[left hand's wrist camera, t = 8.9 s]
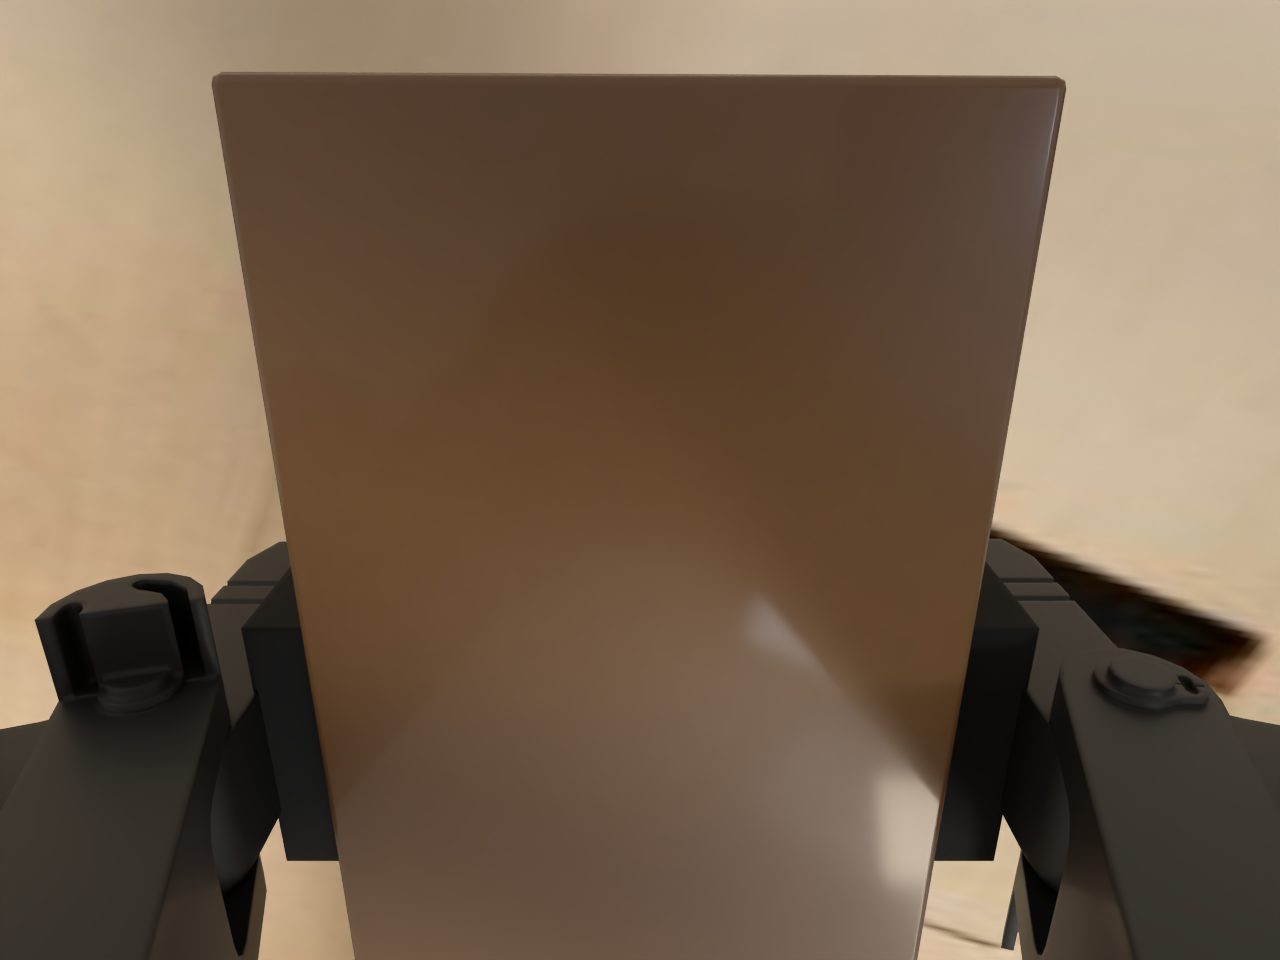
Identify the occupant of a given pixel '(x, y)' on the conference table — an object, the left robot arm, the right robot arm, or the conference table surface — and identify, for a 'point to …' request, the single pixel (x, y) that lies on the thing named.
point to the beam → (637, 486)
